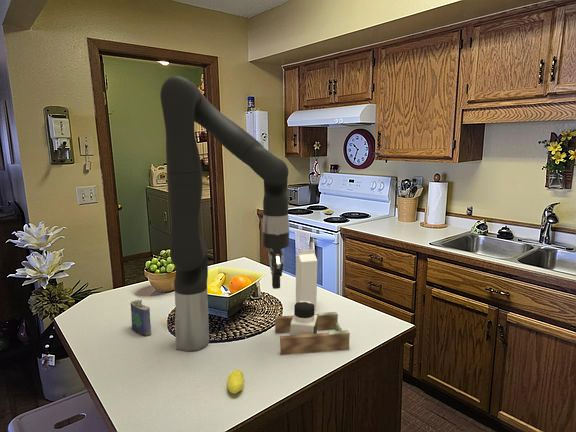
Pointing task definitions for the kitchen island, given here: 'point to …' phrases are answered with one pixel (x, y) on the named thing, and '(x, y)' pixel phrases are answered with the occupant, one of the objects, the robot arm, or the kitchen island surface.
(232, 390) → the lemon
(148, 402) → the kitchen island surface
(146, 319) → the flask
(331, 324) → the bay
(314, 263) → the milk
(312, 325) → the medicine bottle
